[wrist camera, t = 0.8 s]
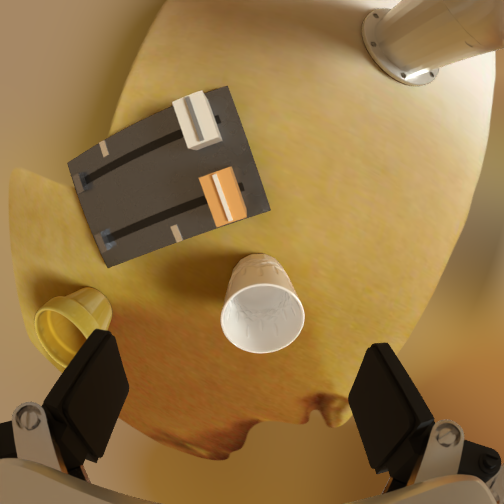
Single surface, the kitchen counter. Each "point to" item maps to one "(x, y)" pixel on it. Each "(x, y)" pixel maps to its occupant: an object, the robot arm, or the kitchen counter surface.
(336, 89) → the kitchen counter surface
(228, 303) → the white cup
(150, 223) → the console board
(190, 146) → the fader
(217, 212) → the block
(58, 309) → the plant pot
